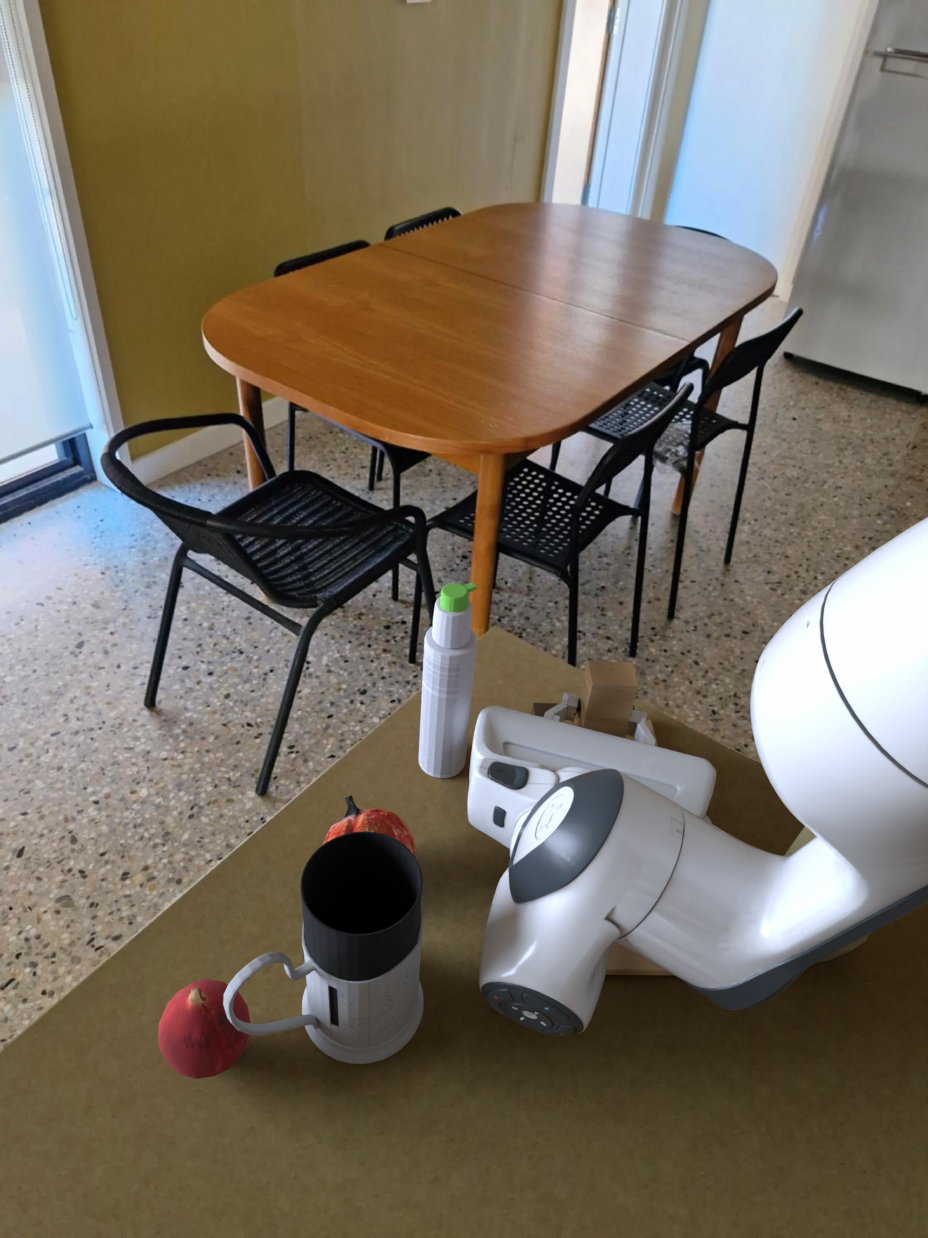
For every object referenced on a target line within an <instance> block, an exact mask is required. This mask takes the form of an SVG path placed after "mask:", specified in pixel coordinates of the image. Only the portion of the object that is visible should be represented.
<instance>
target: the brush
mask: <svg viewBox="0 0 928 1238" xmlns="http://www.w3.org/2000/svg"><path fill="white" fill-rule="evenodd" d="M639 686H640V685H639V681H638V677H637V674H636V670H635V666H634V663H633V661H631V662H630V661H607V660H606V661H605V660H587V661H586V665H585V670H584V674H583V679H582V683H581V688H580V691H579V692H580V693H579V696H580V699H579V704H578V709H577V713H576V716H575V720H574V721H570V720H564V721H563V723H567V724H571V725H575V726H578V727H582V728H586V729H590V730H594V731H598V732H602V733H606V734H610V735H614V736H618V737H621V738H625V739H629V740H633V741H635V738H634V737H632V736H629V735H625V733H626V729H627V728H628V726H627V725H628V722H629V720H630V717H631V713H632V709H633V706H634V707H635V702H636V699H637V695H638V691H639ZM645 725H647V727H648V728H649V730H650V732H651V733H652V735H653V737H654V738H655V740H656V743H655V746H657V747H659V745H658V741H657V738H656V737H657V736H656V733H655V729H654V726H653V722H652V719H646V724H645Z"/></svg>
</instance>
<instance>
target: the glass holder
mask: <svg viewBox="0 0 928 1238" xmlns="http://www.w3.org/2000/svg"><path fill="white" fill-rule="evenodd" d="M423 884H424V883H423V873H422V869H421V866H420V863H419V861H418V859H417V856H416V857H415V856H414V855H413V853H412V852H411V851H410V850H409V849H408V848H407V847H406V846H405V845H404V844H403V843H401V842H399V841H398V840H396V839H395V838H392V837H390V836H387V835H385V834H381V833H377V832H367V831H363V832H352V833H347V834H344V835H341V836H338V837H335V838H333V839H332V840H330V841H328V842H326V843H325V844H323V843H322V845H321V846H319V847H318V848H317V849H316V850H315V851H314V852H313V853H312V855H310V857H309V859H308V860H307V861H306V863H305V866H304V868H303V870H302V873H301V877H300V898H301V899H300V900H301V909H302V910H301V911H302V912H301V913H302V923H301V944H302V955H303V964H301V965H300V966H298V967H296V968H294V965H293V962H292V960H291V958H289V956H288V955H286V953H284V952H282V951H276V950H273V951H270V952H269V951H268V952H265V953H263V954H261V955H259V956H258V957H255V958H254V959H252V960H251V961H250V962H248V963H247V964H245V966H244V967H243V968H241V969H240V970H239V971H238V972H237V973H236V974H235V975H234V976H233V978H232V979H231V980H230V981H229V983H227V984H228V986H227V989H226V991H225V993H224V1001H223V1005H224V1009H225V1012H226V1015H227V1018H228V1019H229V1021H230V1022H231V1023H232V1024H233V1025H234V1026H235V1027H236V1028H237V1029H238V1030H239V1031H241V1032H244V1033H246V1034H249V1036H255V1037H262V1036H268V1035H273V1034H277V1033H282V1032H287V1031H290V1030H293V1029H298V1028H301V1027H304V1028H305V1030H306V1033H307V1034H308V1036H309V1038H310V1040H311V1041H312V1042H313V1044H314V1045H315V1046H316V1047H317V1048H318V1049H319V1050H320V1051H321V1052H323V1053H324V1054H326V1056H328V1057H330V1058H332V1059H334V1060H336V1061H339V1062H342V1063H346V1064H353V1065H354V1064H355V1065H365V1064H373V1063H376V1062H380V1061H384V1060H386V1059H388V1058H390V1057H392V1056H393V1055H395V1054H396V1053H398V1052H399V1051H401V1050H402V1049H403V1048H404V1047H405V1046H406V1045H407V1044H408V1043H410V1040H411V1039H412V1038H413V1036H414V1035H415V1034H416V1031H417V1030H418V1028H419V1026H420V1024H421V1020H422V1017H423V1013H424V1005H425V1004H424V1003H425V1002H424V992H423V988H422V984H421V981H420V972H421V971H420V969H421V957H422V955H421V954H422V939H423V938H422V937H423V925H424V897H423ZM275 964H283V968H284V970H285V973H286V975H287V976H288V978H290V979H291V980H293V981H299V980H301V979H304V978H305V989H304V992H303V996H302V1001H301V1015H296V1016H293V1017H289V1018H285V1019H281V1020H275V1021H272V1022H265V1023H252V1022H251V1023H246V1022H243V1021H241V1020H239V1019H238V1018H237V1017H236V1016H235V1014H234V1012H233V1000H234V998H235V996H236V993H237V991H238V992H239V990H240V989H241V988H242V987H243V985H244V984H245V983H246V982H247V981H249V979H251V977H253V976H255V974H256V973H258V972H259V971H261V970H262V969H264V968H266V967H269V966H270V965H275Z"/></svg>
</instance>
